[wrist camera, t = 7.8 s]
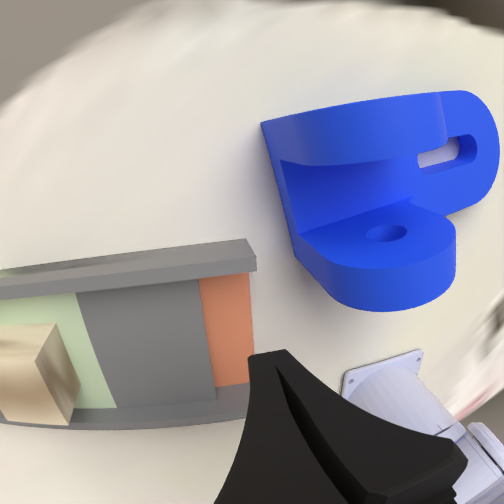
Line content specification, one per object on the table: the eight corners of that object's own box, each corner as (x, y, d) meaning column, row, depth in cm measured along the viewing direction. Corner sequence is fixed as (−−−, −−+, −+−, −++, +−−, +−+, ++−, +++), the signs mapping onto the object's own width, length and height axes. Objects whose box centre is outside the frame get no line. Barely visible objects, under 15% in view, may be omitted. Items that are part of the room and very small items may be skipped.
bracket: (294, 255, 20) (363, 333, 12) (259, 122, 17) (324, 108, 9) (485, 187, 22) (568, 215, 13) (472, 89, 19) (563, 91, 10)
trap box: (255, 386, 23) (264, 414, 20) (-28, 395, 19) (-39, 416, 16) (245, 238, 19) (256, 256, 16) (-80, 281, 15) (-100, 297, 12)
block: (81, 383, 19) (68, 425, 15) (24, 383, 18) (7, 420, 14) (56, 322, 17) (34, 361, 13) (-3, 325, 16) (-29, 359, 12)
